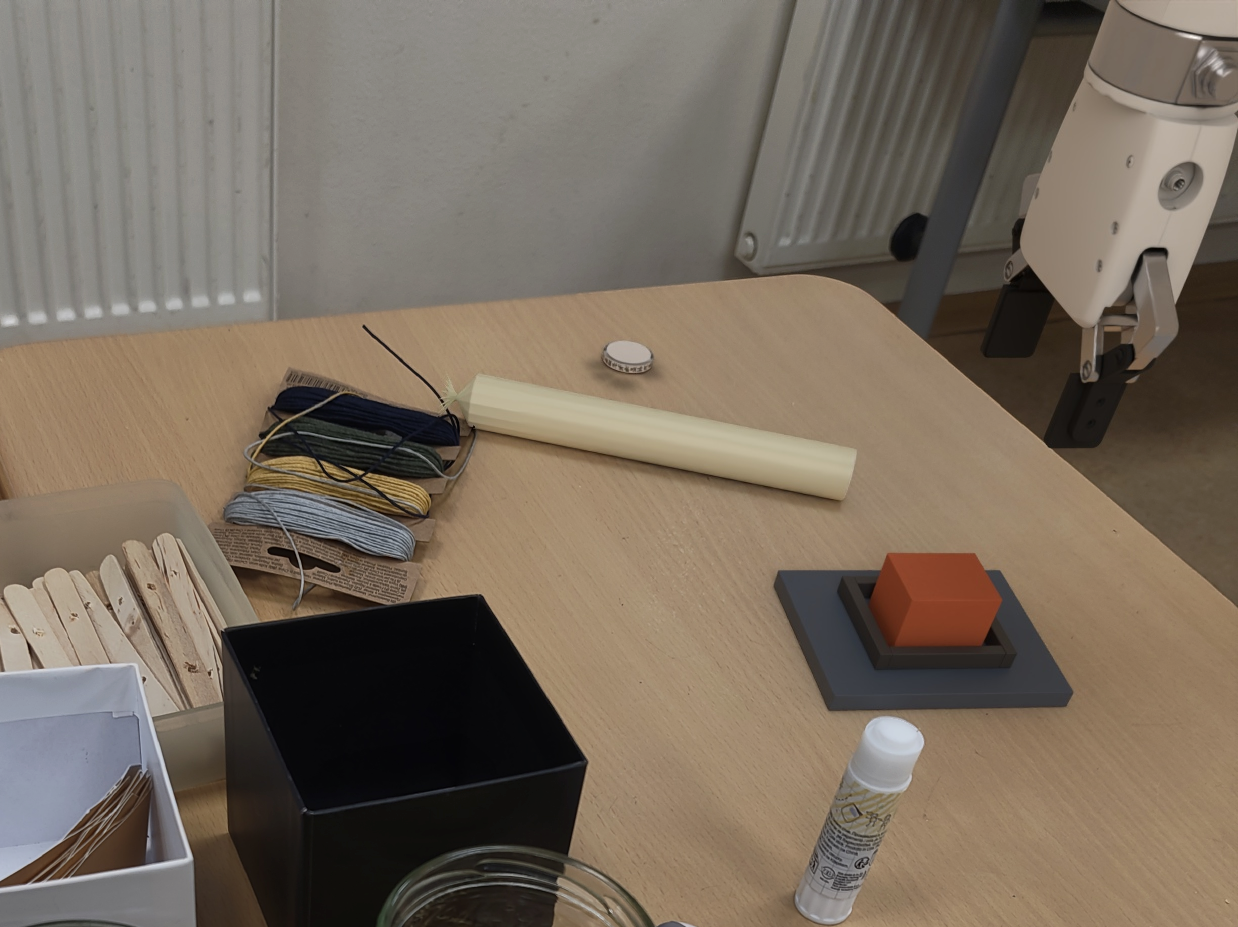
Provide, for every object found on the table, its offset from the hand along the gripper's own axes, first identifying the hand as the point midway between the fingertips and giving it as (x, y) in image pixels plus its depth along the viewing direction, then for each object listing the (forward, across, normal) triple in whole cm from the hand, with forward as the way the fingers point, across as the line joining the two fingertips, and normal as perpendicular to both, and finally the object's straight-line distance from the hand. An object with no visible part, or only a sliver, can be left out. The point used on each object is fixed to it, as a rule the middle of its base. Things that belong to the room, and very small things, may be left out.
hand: (1036, 399), depth 82 cm
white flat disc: (+16, +36, +14) cm, 41 cm away
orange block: (+15, -1, +2) cm, 15 cm away
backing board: (+16, -1, +2) cm, 17 cm away
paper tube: (+16, +22, +16) cm, 31 cm away
